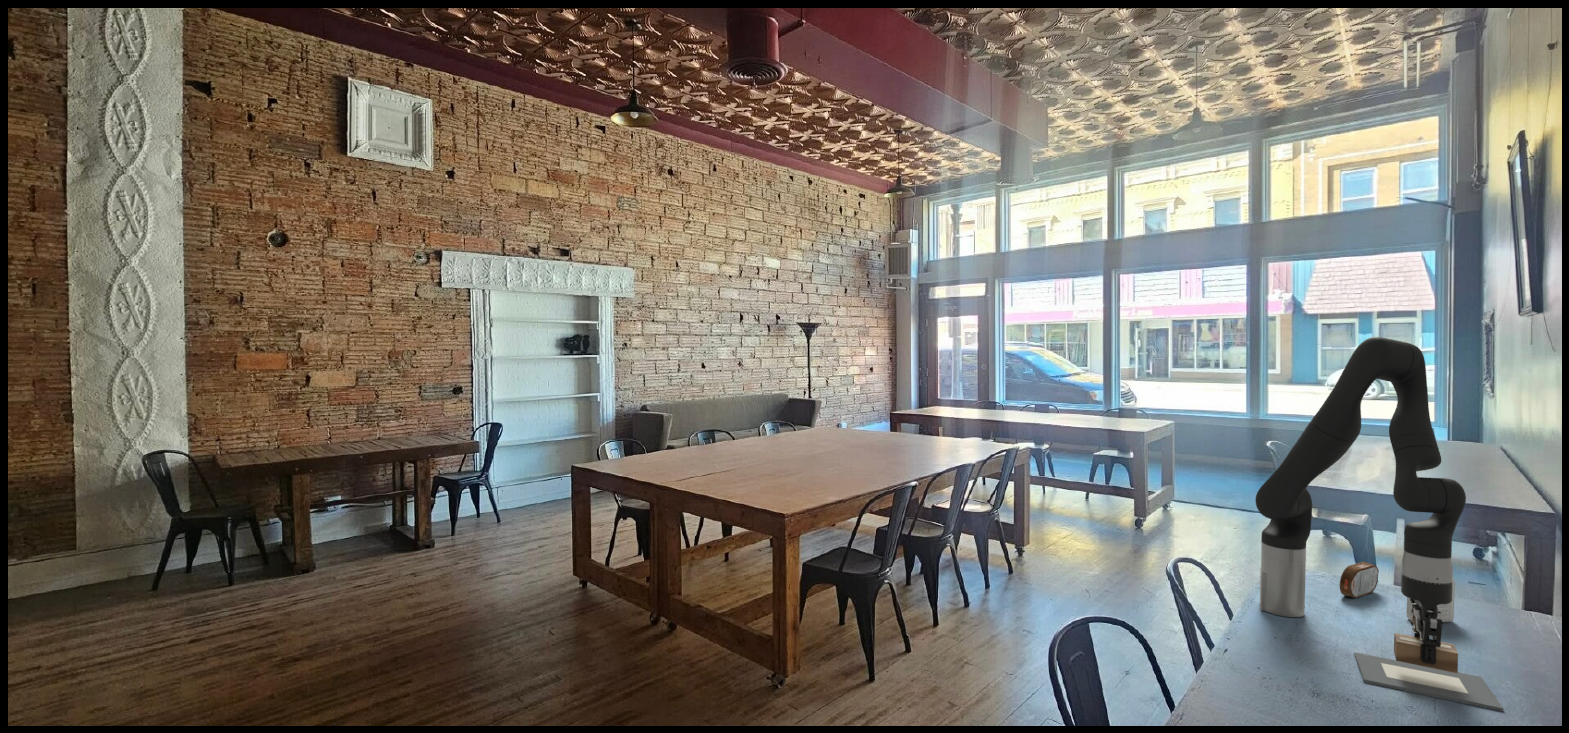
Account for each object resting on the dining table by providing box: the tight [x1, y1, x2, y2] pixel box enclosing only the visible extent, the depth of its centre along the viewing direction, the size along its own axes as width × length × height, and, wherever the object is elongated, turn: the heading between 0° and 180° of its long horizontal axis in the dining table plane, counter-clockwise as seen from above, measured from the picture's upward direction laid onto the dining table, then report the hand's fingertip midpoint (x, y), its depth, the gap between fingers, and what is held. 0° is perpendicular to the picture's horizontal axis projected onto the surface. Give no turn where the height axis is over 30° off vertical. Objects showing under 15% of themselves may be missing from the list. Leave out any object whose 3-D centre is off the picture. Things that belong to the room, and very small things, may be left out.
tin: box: [1339, 561, 1379, 599], centre depth 183 cm, size 15×3×8 cm, turn 116°
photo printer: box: [1406, 577, 1456, 623], centre depth 167 cm, size 10×4×12 cm, turn 98°
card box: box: [1393, 632, 1459, 673], centre depth 138 cm, size 5×9×4 cm, turn 52°
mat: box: [1353, 651, 1504, 712], centre depth 138 cm, size 20×14×1 cm
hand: (1424, 657), depth 138 cm, fingers closed on card box, 5 cm apart
